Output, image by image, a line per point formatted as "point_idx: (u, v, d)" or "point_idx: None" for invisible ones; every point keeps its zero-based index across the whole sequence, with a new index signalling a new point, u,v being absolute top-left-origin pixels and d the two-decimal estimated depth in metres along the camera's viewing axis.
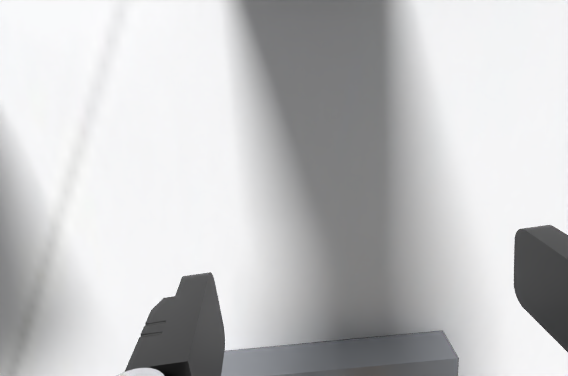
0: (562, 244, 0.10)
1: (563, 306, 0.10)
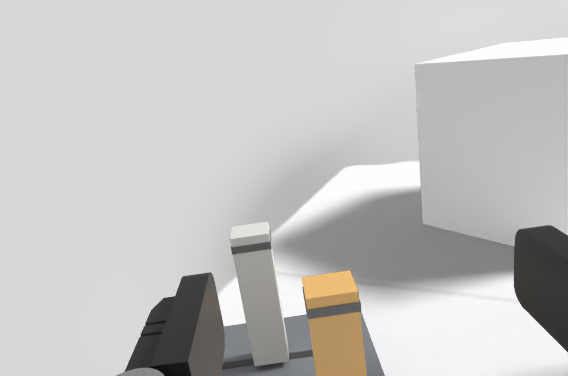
0: (562, 244, 0.10)
1: (563, 306, 0.10)
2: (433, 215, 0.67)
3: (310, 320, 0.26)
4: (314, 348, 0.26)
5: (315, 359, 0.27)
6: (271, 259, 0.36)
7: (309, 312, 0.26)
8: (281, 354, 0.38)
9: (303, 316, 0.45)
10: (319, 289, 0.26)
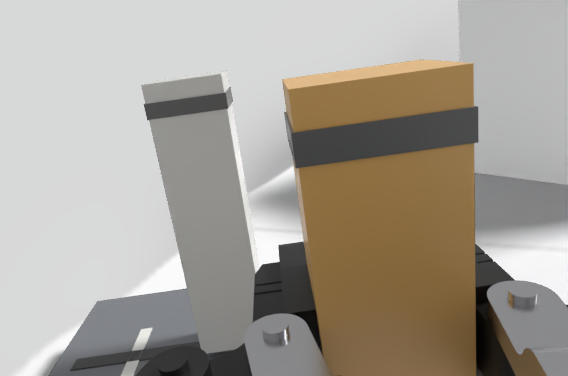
0: None
1: None
2: (478, 157, 0.49)
3: (305, 173, 0.08)
4: (318, 274, 0.08)
5: (321, 311, 0.08)
6: (228, 133, 0.17)
7: (302, 141, 0.07)
8: None
9: None
10: (336, 78, 0.08)
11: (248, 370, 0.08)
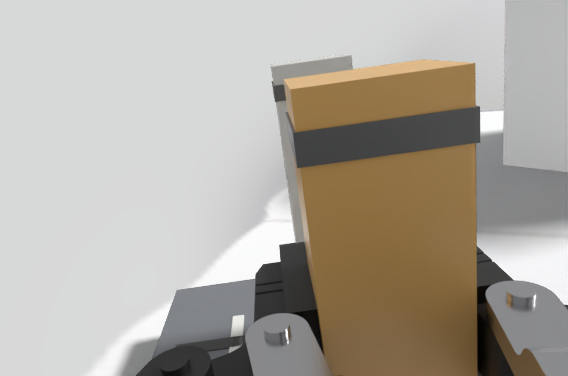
0: None
1: None
2: (521, 150, 0.49)
3: (306, 173, 0.08)
4: (319, 274, 0.08)
5: (322, 311, 0.08)
6: None
7: (304, 140, 0.07)
8: None
9: None
10: (337, 78, 0.08)
11: (249, 369, 0.08)
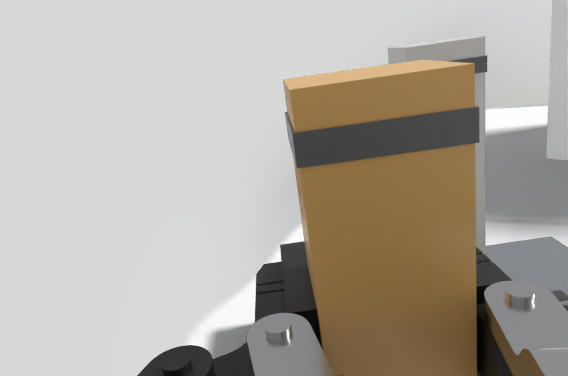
0: None
1: None
2: (566, 144, 0.49)
3: (306, 174, 0.08)
4: (319, 274, 0.08)
5: (322, 311, 0.08)
6: (482, 96, 0.17)
7: (303, 141, 0.07)
8: None
9: None
10: (337, 78, 0.08)
11: (251, 369, 0.08)
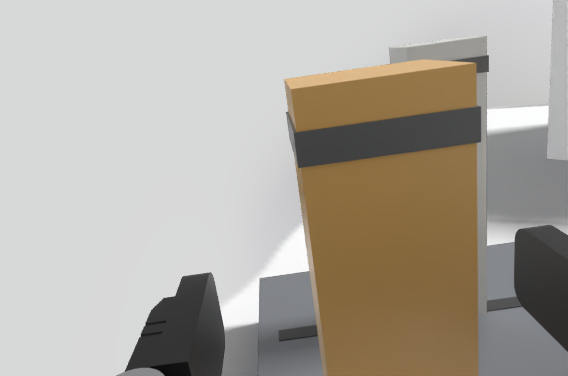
0: (562, 244, 0.10)
1: (563, 306, 0.10)
2: (567, 144, 0.49)
3: (307, 173, 0.08)
4: (320, 274, 0.08)
5: (323, 311, 0.08)
6: (484, 96, 0.17)
7: (305, 141, 0.07)
8: None
9: None
10: (338, 78, 0.08)
11: None
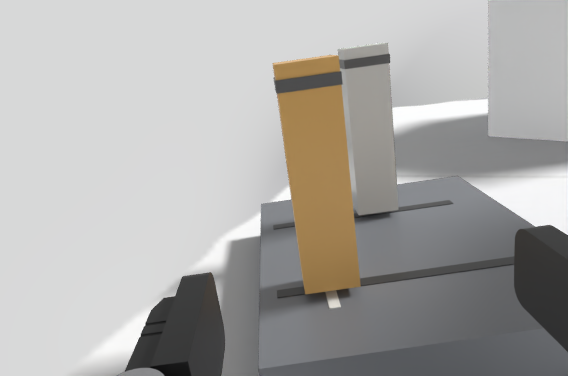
0: (562, 244, 0.10)
1: (563, 306, 0.10)
2: (502, 124, 0.63)
3: (280, 96, 0.21)
4: (285, 136, 0.22)
5: (287, 152, 0.22)
6: (388, 77, 0.31)
7: (279, 83, 0.21)
8: (390, 200, 0.33)
9: None
10: (292, 61, 0.21)
11: None
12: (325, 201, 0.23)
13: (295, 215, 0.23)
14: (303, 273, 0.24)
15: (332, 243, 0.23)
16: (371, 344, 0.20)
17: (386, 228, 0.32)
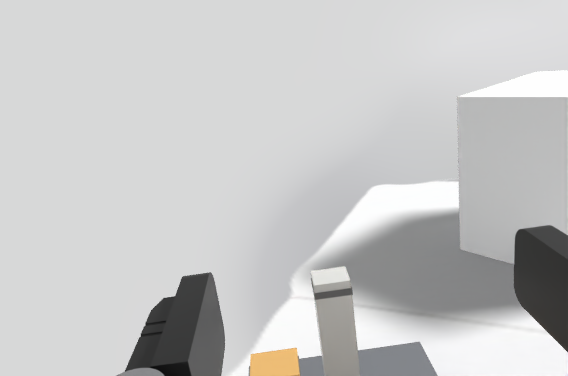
0: (563, 244, 0.10)
1: (563, 306, 0.10)
2: (472, 242, 0.69)
3: None
4: None
5: None
6: (351, 304, 0.37)
7: None
8: None
9: (365, 351, 0.47)
10: (264, 370, 0.28)
11: None
12: None
13: None
14: None
15: None
16: None
17: None
